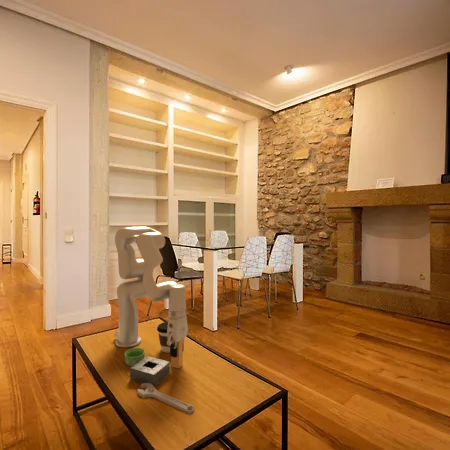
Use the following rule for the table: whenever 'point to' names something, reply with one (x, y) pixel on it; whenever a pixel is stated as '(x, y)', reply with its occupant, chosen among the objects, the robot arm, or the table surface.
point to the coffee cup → (163, 336)
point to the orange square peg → (178, 355)
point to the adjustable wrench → (163, 397)
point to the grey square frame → (150, 371)
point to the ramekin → (134, 356)
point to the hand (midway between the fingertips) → (176, 353)
